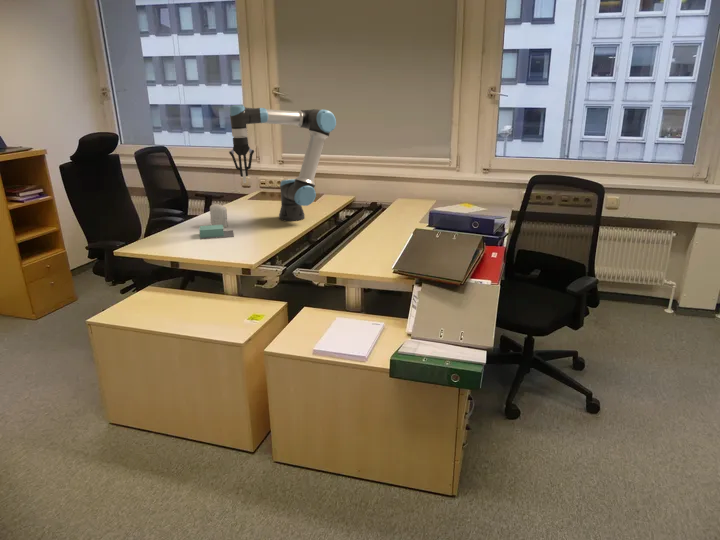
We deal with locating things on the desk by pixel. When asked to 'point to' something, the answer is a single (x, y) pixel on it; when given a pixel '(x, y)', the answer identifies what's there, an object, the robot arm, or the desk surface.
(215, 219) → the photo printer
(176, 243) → the desk surface
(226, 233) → the mat
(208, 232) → the block
